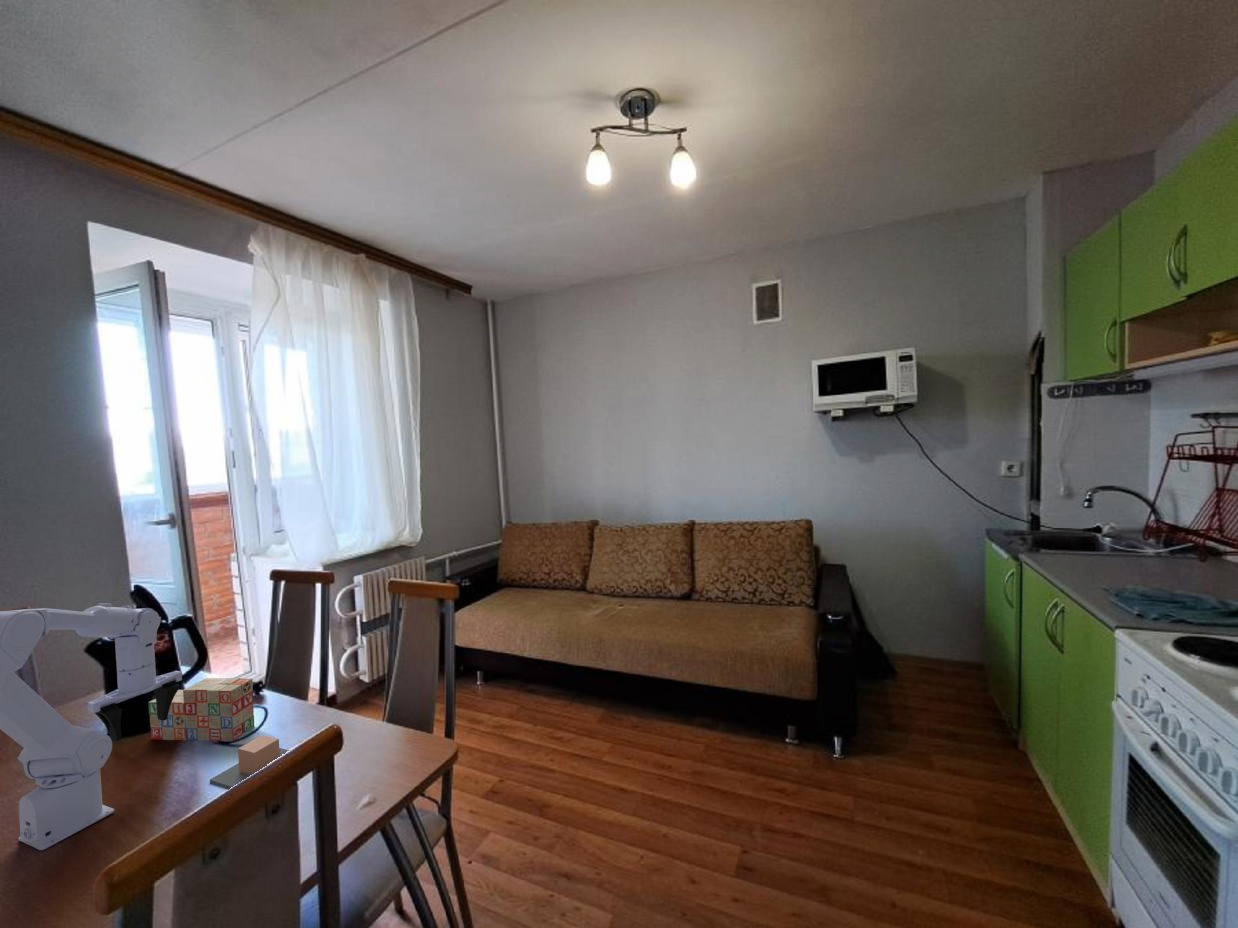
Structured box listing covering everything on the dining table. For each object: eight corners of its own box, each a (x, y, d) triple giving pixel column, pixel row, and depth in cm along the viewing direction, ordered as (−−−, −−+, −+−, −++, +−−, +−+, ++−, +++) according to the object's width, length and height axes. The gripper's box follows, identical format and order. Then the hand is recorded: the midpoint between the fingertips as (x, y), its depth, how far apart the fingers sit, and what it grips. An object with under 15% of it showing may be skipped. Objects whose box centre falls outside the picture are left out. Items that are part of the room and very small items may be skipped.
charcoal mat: (249, 794, 94) (249, 791, 94) (209, 782, 98) (209, 779, 98) (307, 757, 105) (307, 754, 105) (269, 747, 110) (269, 745, 110)
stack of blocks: (149, 740, 115) (146, 689, 114) (176, 725, 121) (173, 677, 120) (233, 741, 113) (230, 689, 112) (255, 726, 119) (253, 677, 119)
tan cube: (255, 776, 99) (254, 752, 99) (239, 771, 100) (237, 748, 100) (280, 761, 103) (278, 738, 103) (264, 757, 105) (262, 734, 105)
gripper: (99, 683, 94) (104, 752, 94) (188, 653, 107) (192, 713, 107) (80, 678, 96) (84, 745, 96) (169, 650, 110) (173, 708, 110)
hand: (140, 728), depth 102 cm, fingers open, 7 cm apart
